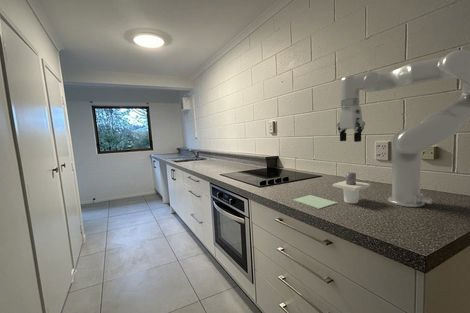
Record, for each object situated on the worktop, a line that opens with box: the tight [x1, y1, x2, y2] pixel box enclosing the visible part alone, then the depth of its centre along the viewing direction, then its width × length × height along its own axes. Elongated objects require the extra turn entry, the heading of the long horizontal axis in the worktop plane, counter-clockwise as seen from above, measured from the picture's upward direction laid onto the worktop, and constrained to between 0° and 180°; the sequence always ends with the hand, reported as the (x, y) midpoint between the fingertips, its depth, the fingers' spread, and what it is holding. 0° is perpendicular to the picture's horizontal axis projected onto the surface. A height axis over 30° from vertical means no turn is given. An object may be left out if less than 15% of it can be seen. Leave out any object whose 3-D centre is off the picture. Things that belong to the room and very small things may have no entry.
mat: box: [292, 194, 338, 210], centre depth 105 cm, size 16×12×1 cm
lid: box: [332, 172, 371, 191], centre depth 101 cm, size 11×11×6 cm
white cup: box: [342, 189, 360, 204], centre depth 101 cm, size 7×7×7 cm
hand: (350, 141), depth 103 cm, fingers open, 9 cm apart
